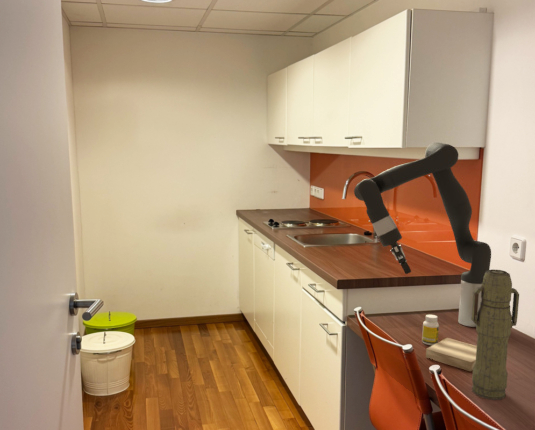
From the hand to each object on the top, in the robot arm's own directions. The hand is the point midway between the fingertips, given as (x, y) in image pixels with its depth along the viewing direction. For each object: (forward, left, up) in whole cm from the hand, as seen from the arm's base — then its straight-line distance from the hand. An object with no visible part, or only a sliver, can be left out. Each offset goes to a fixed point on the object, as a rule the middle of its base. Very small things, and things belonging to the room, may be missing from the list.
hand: (408, 271), depth 185 cm
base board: (+3, +21, -25) cm, 33 cm away
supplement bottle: (-3, +8, -25) cm, 27 cm away
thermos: (+21, +38, -25) cm, 50 cm away
